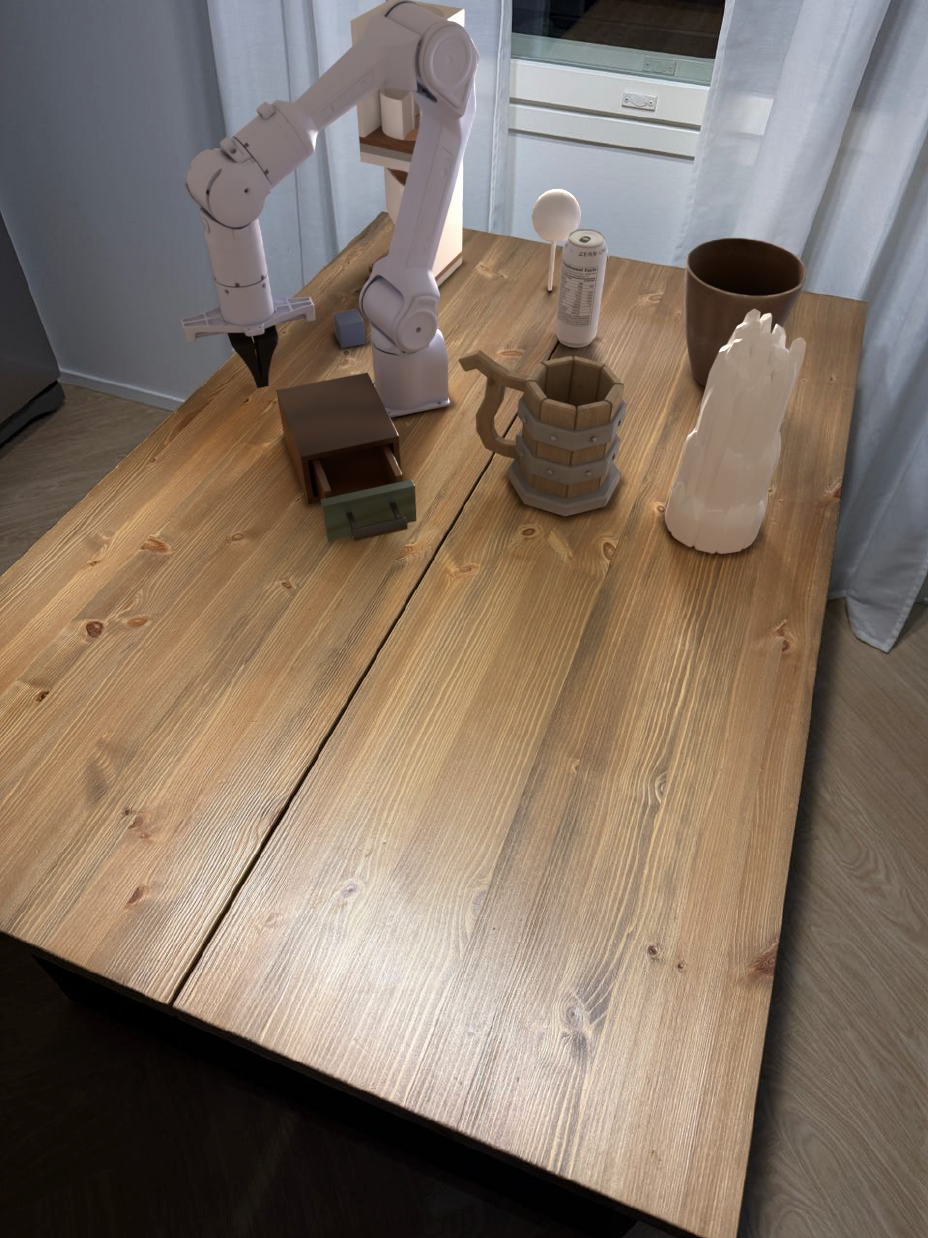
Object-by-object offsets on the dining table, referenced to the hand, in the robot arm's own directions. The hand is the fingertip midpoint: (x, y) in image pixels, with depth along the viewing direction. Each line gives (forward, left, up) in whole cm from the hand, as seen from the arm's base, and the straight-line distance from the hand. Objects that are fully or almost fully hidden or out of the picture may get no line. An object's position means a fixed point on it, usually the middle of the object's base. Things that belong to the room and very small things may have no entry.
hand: (261, 382), depth 105 cm
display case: (-30, -37, -10) cm, 49 cm away
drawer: (-7, +16, -8) cm, 19 cm away
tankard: (-29, +15, -10) cm, 35 cm away
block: (-15, -21, -9) cm, 27 cm away
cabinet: (-7, +5, -9) cm, 13 cm away
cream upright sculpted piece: (-45, +30, -10) cm, 56 cm away
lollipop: (-48, -25, -10) cm, 55 cm away
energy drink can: (-46, -11, -10) cm, 49 cm away
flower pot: (-61, +4, -10) cm, 62 cm away
